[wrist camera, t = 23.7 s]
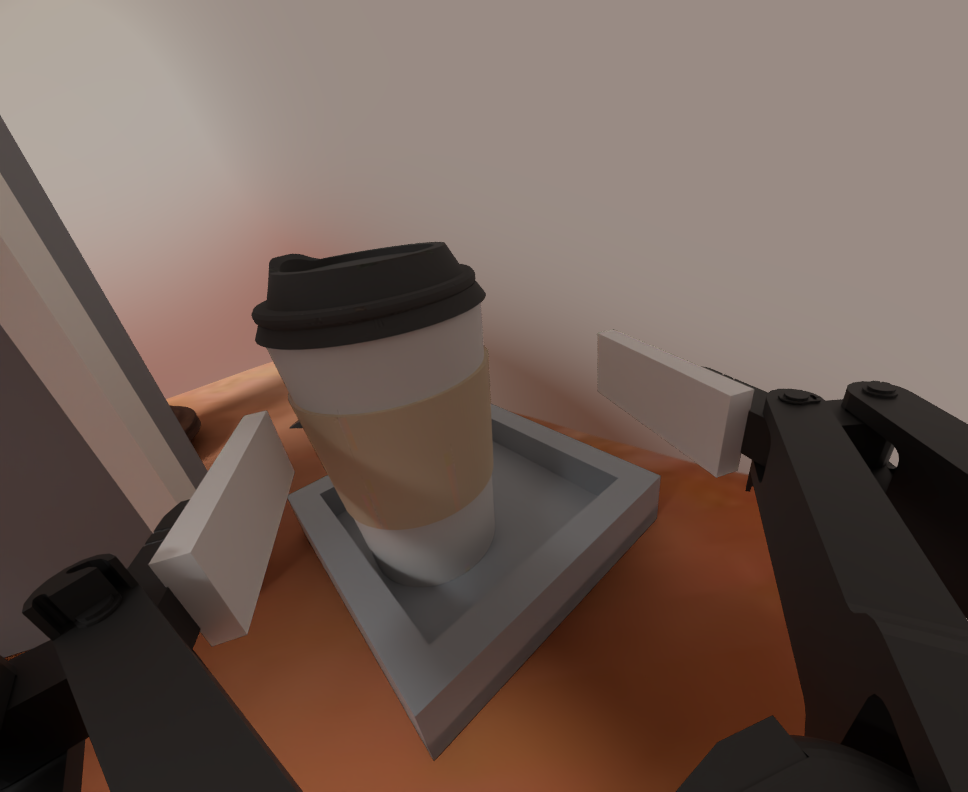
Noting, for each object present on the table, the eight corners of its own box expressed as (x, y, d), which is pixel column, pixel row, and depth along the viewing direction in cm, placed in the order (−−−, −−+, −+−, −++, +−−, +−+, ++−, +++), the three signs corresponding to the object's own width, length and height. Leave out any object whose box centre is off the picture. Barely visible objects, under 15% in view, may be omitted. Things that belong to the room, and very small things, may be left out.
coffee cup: (516, 474, 24) (485, 221, 18) (515, 607, 16) (458, 238, 10) (383, 482, 26) (307, 248, 19) (322, 609, 18) (153, 281, 11)
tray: (433, 761, 13) (414, 716, 12) (304, 532, 24) (286, 495, 22) (656, 518, 21) (660, 475, 20) (483, 429, 32) (478, 398, 30)
